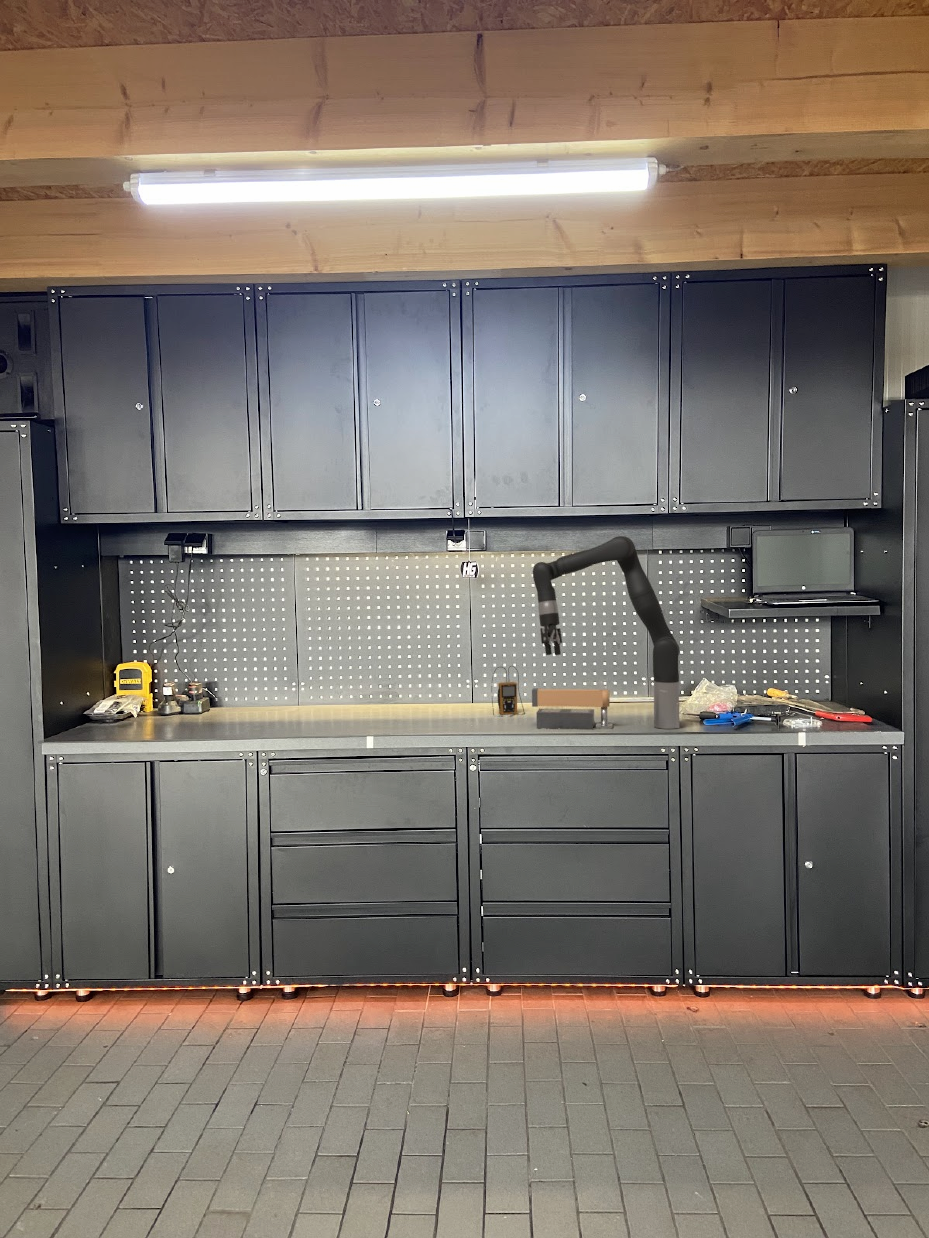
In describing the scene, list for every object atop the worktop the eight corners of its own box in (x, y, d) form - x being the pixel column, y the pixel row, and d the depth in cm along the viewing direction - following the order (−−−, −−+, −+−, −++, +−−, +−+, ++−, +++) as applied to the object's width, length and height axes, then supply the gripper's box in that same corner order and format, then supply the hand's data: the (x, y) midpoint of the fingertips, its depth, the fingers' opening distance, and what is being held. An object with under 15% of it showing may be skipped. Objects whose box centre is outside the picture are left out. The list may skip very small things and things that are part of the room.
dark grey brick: (594, 724, 352) (594, 708, 351) (592, 729, 342) (592, 712, 342) (539, 723, 356) (539, 708, 355) (536, 728, 346) (536, 712, 346)
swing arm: (609, 705, 347) (609, 689, 347) (609, 707, 343) (609, 690, 343) (533, 704, 353) (533, 688, 353) (532, 706, 349) (531, 689, 348)
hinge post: (612, 726, 348) (612, 705, 348) (612, 728, 343) (612, 708, 342) (596, 725, 350) (596, 705, 349) (595, 728, 344) (595, 707, 343)
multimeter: (497, 718, 371) (496, 668, 370) (490, 714, 381) (489, 666, 380) (531, 716, 375) (531, 667, 374) (523, 712, 385) (523, 665, 384)
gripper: (549, 611, 348) (554, 653, 347) (564, 612, 360) (569, 653, 359) (532, 614, 352) (536, 656, 350) (547, 615, 364) (552, 656, 363)
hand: (553, 654), depth 355 cm, fingers open, 8 cm apart
